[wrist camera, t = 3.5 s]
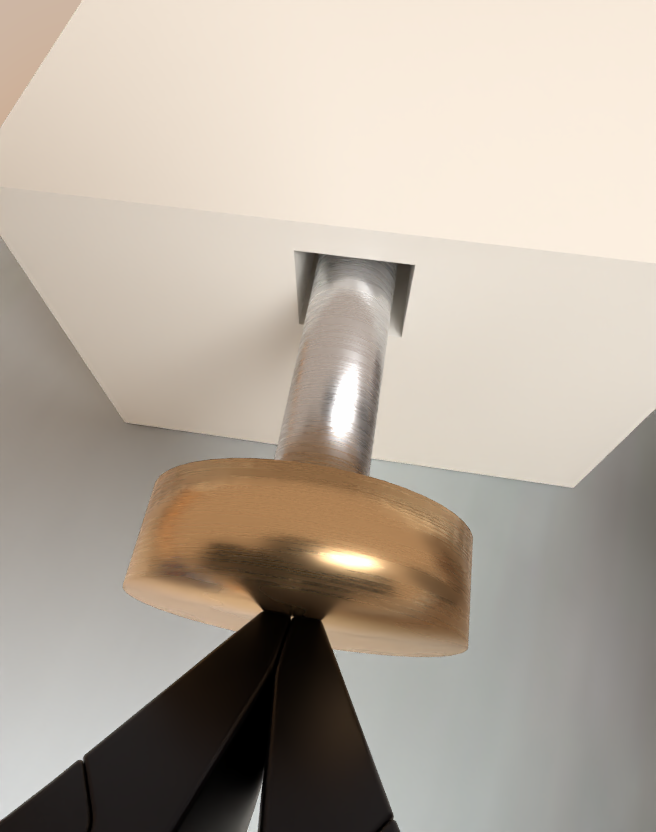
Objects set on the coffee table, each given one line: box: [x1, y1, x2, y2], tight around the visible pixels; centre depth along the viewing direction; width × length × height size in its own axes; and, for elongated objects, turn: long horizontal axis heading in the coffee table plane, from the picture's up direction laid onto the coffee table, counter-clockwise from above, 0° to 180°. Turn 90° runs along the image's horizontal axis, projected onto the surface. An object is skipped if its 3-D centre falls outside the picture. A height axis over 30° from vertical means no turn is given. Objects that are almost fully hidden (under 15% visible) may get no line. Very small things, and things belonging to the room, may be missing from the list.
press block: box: [0, 0, 656, 488], centre depth 16 cm, size 8×14×9 cm, turn 81°
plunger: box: [123, 254, 473, 657], centre depth 11 cm, size 11×5×5 cm, turn 171°
